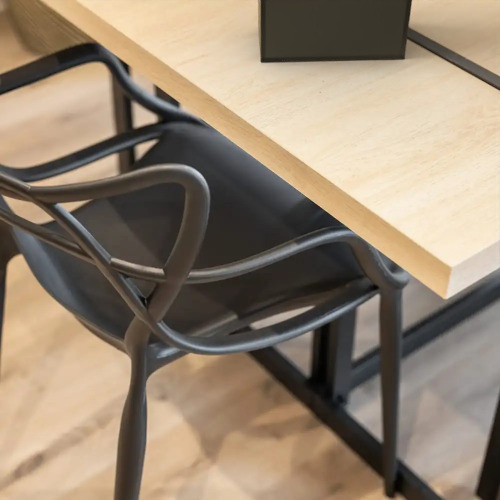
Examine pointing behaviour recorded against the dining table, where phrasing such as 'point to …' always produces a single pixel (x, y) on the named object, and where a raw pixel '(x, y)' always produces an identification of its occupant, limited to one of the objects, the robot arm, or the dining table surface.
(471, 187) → the dining table surface
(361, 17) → the caddy
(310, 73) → the dining table surface
